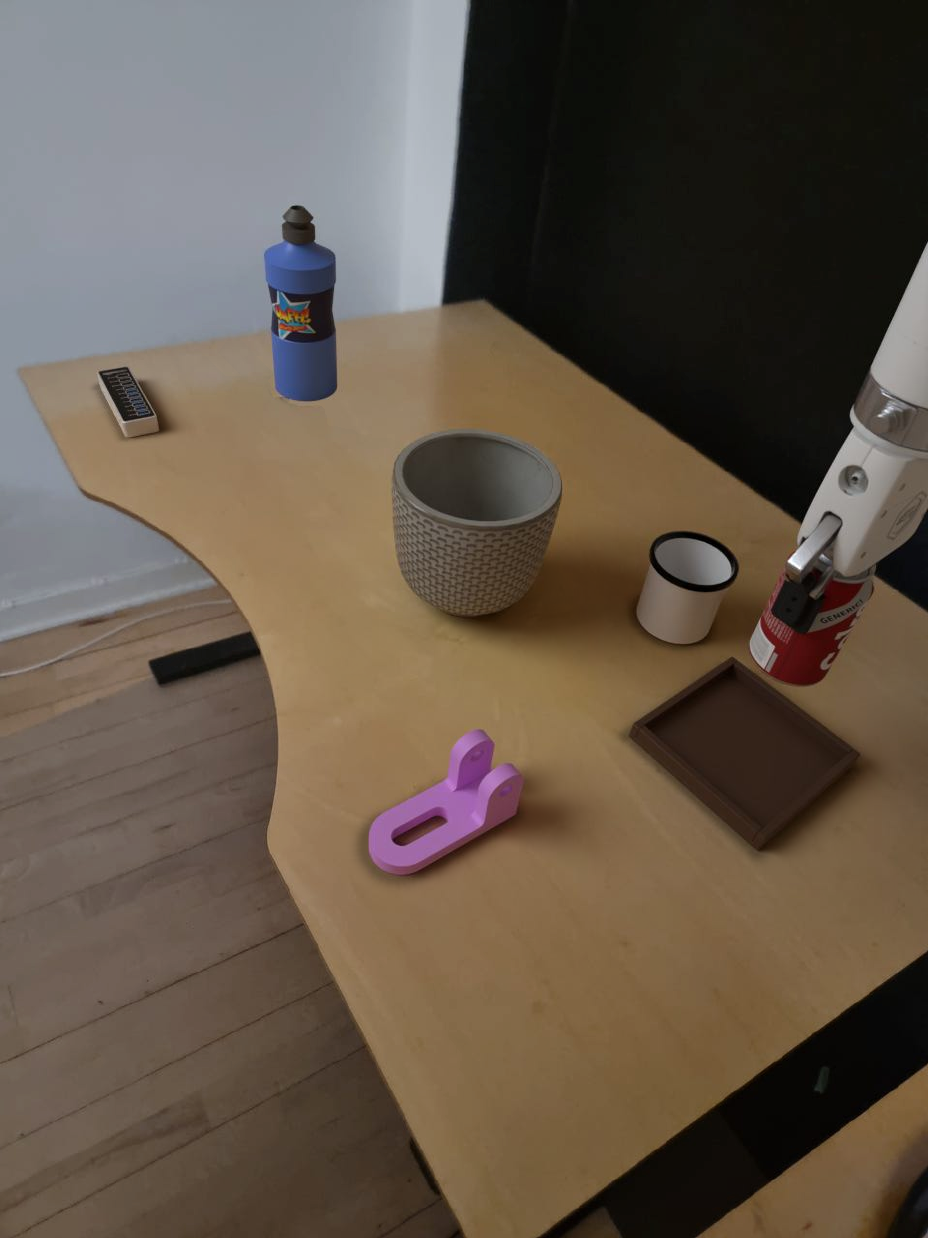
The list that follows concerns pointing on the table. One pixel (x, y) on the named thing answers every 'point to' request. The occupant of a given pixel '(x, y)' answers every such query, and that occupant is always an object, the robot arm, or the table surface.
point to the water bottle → (302, 310)
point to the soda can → (810, 630)
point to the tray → (744, 750)
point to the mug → (685, 585)
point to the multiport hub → (128, 402)
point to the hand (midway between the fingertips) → (816, 603)
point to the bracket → (449, 808)
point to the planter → (472, 518)
